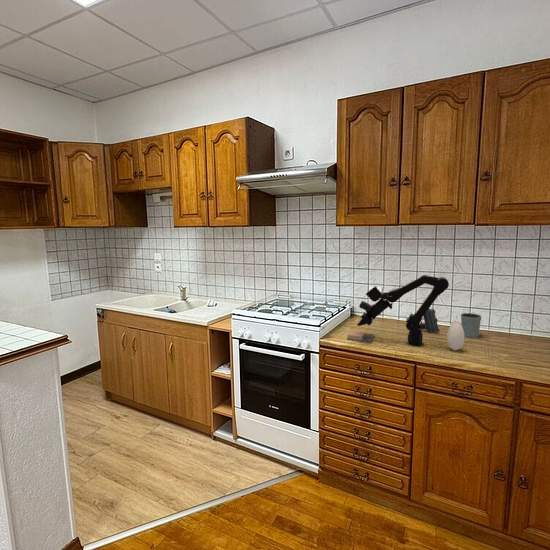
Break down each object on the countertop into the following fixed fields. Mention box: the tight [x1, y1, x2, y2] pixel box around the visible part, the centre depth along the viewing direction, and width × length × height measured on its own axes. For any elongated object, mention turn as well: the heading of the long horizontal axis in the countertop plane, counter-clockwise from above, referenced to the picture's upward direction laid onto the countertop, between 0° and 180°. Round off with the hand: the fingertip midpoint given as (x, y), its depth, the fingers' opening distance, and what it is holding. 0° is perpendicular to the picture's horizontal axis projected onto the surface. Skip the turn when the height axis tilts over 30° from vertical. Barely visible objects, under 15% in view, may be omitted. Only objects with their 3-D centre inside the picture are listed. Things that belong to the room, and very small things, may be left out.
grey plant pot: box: [460, 312, 482, 339], centre depth 197 cm, size 10×10×12 cm
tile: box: [347, 329, 366, 340], centre depth 197 cm, size 2×10×8 cm
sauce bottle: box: [446, 315, 465, 351], centre depth 174 cm, size 8×8×18 cm
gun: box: [419, 308, 441, 333], centre depth 207 cm, size 3×17×15 cm
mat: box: [346, 333, 375, 344], centre depth 196 cm, size 13×12×1 cm
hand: (357, 325), depth 196 cm, fingers closed
